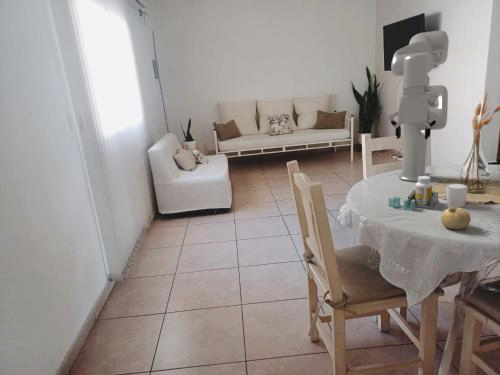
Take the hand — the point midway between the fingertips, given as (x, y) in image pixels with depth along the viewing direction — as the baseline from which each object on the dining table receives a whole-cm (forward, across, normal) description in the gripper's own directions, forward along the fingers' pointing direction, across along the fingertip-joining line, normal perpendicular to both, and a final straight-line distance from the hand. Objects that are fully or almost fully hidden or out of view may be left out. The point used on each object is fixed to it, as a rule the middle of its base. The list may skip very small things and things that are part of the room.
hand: (412, 138), depth 132 cm
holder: (+23, -6, +6) cm, 25 cm away
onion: (+23, -18, +23) cm, 37 cm away
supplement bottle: (+23, -6, +7) cm, 24 cm away
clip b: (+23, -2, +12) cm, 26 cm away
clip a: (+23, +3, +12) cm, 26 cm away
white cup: (+24, -16, +2) cm, 29 cm away
